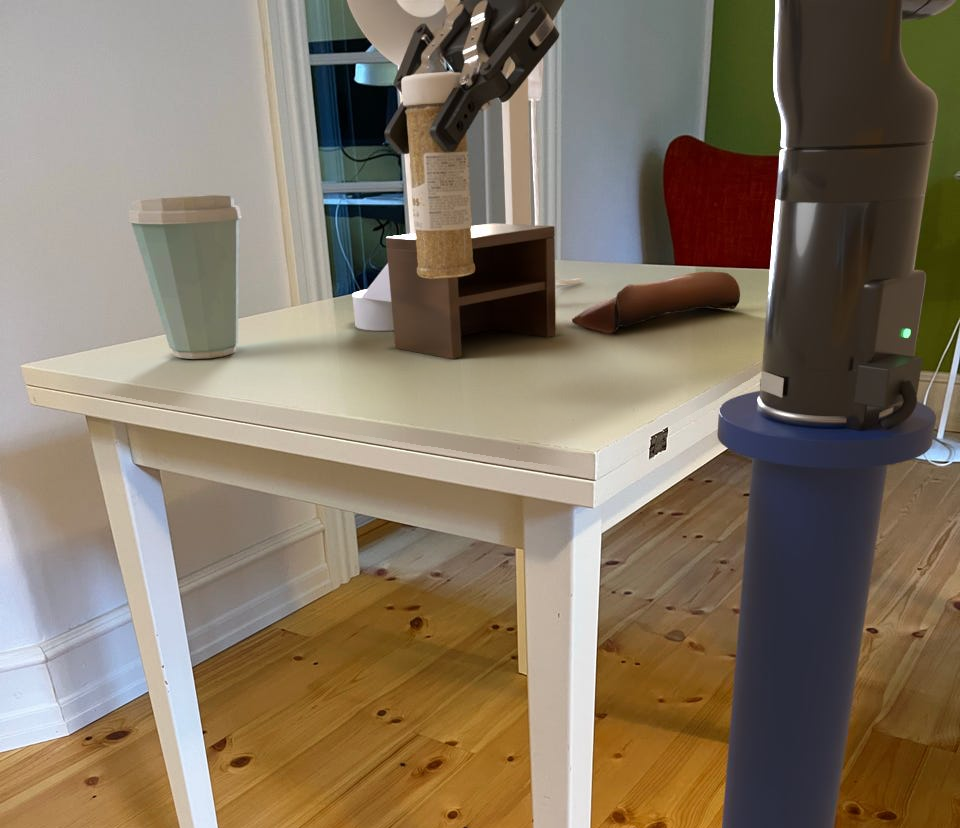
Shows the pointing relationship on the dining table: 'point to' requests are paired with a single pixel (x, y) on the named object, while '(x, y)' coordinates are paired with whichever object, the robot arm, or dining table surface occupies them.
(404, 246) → the shelf
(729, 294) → the sunglasses case
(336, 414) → the dining table surface
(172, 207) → the disposable coffee cup
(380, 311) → the wedge on round base
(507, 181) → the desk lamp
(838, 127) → the robot arm
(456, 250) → the sprinkles bottle
